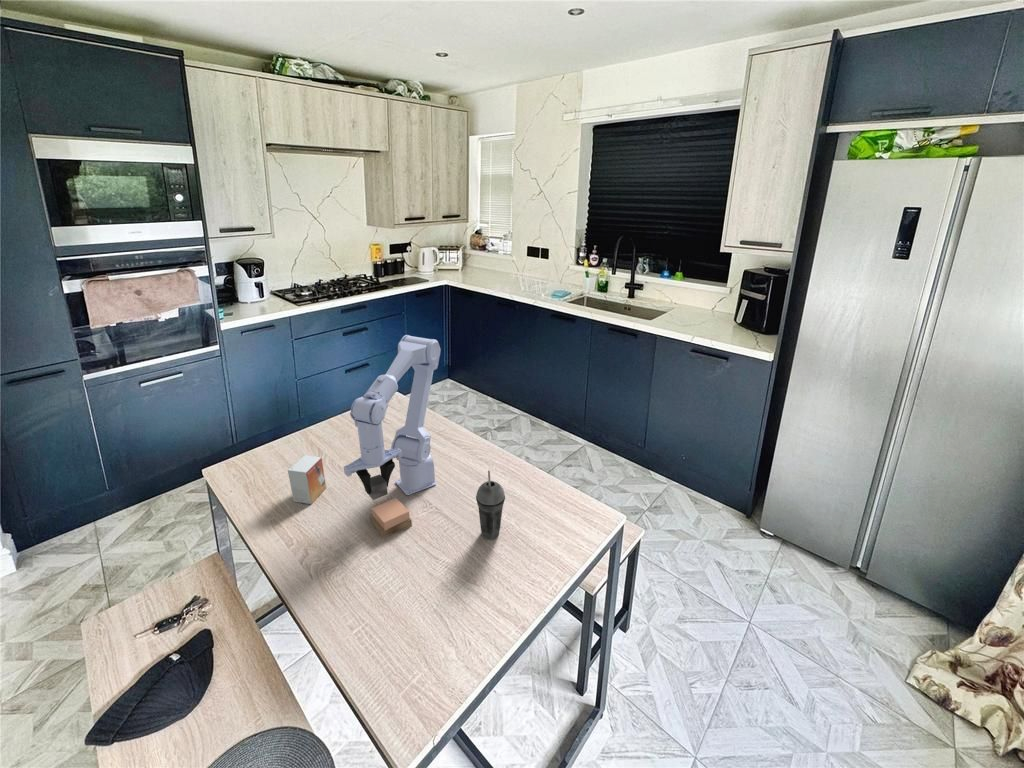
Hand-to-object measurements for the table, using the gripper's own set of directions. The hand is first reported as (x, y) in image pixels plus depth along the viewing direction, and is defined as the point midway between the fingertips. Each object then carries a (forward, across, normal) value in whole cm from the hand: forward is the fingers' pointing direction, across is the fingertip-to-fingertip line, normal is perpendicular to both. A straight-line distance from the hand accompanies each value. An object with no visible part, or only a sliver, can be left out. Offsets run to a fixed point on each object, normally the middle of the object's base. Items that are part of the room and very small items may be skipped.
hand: (376, 488), depth 127 cm
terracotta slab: (+8, -2, +3) cm, 9 cm away
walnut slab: (+10, -2, +3) cm, 11 cm away
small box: (+10, +11, -22) cm, 26 cm away
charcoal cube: (+2, 0, 0) cm, 2 cm away
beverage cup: (+10, -20, +22) cm, 31 cm away
